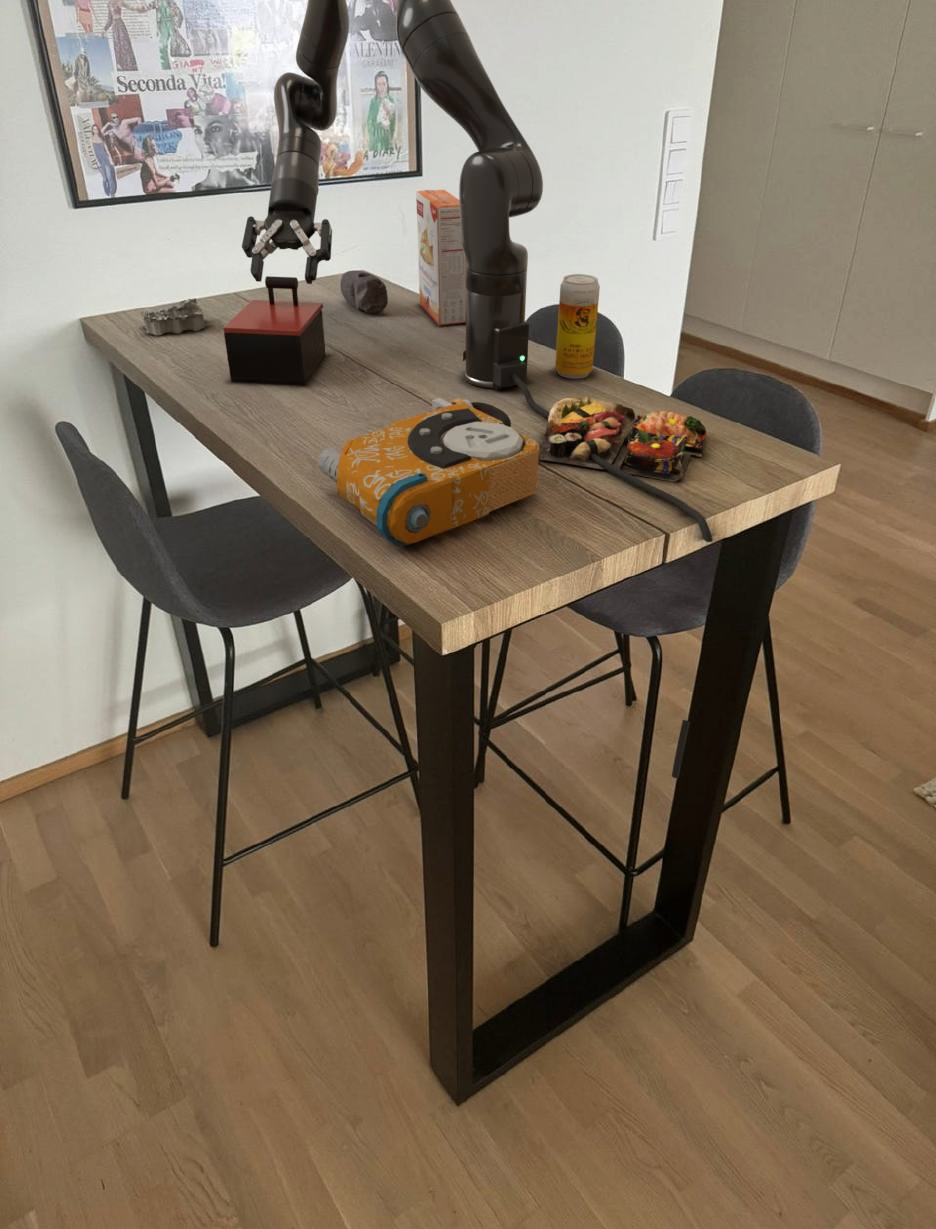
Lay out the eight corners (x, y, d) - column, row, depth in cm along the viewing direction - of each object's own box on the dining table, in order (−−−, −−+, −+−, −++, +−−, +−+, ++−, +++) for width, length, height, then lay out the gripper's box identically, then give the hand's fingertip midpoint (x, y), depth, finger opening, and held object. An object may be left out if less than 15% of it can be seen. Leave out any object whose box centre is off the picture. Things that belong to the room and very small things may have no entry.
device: (283, 427, 108) (475, 372, 123) (290, 489, 112) (474, 429, 128) (390, 497, 93) (593, 425, 109) (394, 564, 98) (587, 486, 114)
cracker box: (417, 305, 176) (414, 190, 164) (446, 303, 178) (446, 188, 166) (436, 327, 166) (435, 205, 153) (468, 324, 167) (468, 203, 155)
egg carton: (202, 319, 168) (198, 297, 166) (207, 331, 162) (204, 308, 160) (143, 325, 165) (138, 302, 163) (146, 337, 159) (141, 314, 157)
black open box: (257, 352, 153) (251, 306, 149) (325, 355, 152) (322, 309, 148) (230, 382, 142) (223, 333, 138) (304, 385, 141) (299, 336, 137)
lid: (252, 304, 150) (248, 272, 147) (323, 307, 149) (320, 275, 146) (223, 332, 138) (218, 298, 134) (299, 336, 136) (296, 301, 133)
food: (526, 459, 120) (527, 434, 118) (562, 408, 134) (564, 385, 132) (691, 485, 114) (696, 460, 112) (710, 430, 128) (714, 406, 126)
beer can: (562, 381, 144) (569, 285, 135) (549, 368, 148) (555, 274, 140) (597, 377, 145) (606, 282, 136) (583, 365, 150) (591, 272, 141)
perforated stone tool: (333, 300, 179) (330, 263, 175) (357, 296, 181) (355, 260, 177) (366, 320, 168) (364, 282, 164) (390, 316, 171) (389, 278, 167)
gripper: (245, 174, 145) (232, 266, 142) (331, 176, 144) (320, 269, 141) (259, 203, 152) (247, 290, 150) (341, 205, 151) (330, 294, 148)
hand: (282, 280), depth 145 cm, fingers open, 8 cm apart
